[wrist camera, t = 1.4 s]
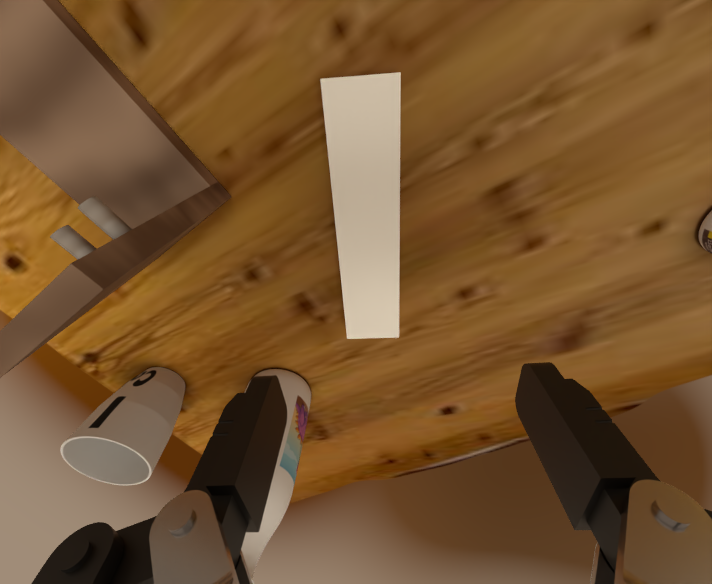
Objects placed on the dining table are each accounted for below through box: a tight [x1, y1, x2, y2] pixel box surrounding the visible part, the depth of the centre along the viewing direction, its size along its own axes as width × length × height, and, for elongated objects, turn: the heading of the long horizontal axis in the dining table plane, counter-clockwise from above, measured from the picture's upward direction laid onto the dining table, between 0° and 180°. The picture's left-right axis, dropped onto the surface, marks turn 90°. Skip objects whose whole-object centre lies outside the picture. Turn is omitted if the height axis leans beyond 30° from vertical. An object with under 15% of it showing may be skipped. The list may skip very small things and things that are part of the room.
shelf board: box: [320, 72, 401, 339], centre depth 26 cm, size 21×5×3 cm, turn 4°
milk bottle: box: [241, 369, 311, 584], centre depth 30 cm, size 8×8×20 cm
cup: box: [61, 367, 185, 485], centre depth 34 cm, size 8×8×10 cm
